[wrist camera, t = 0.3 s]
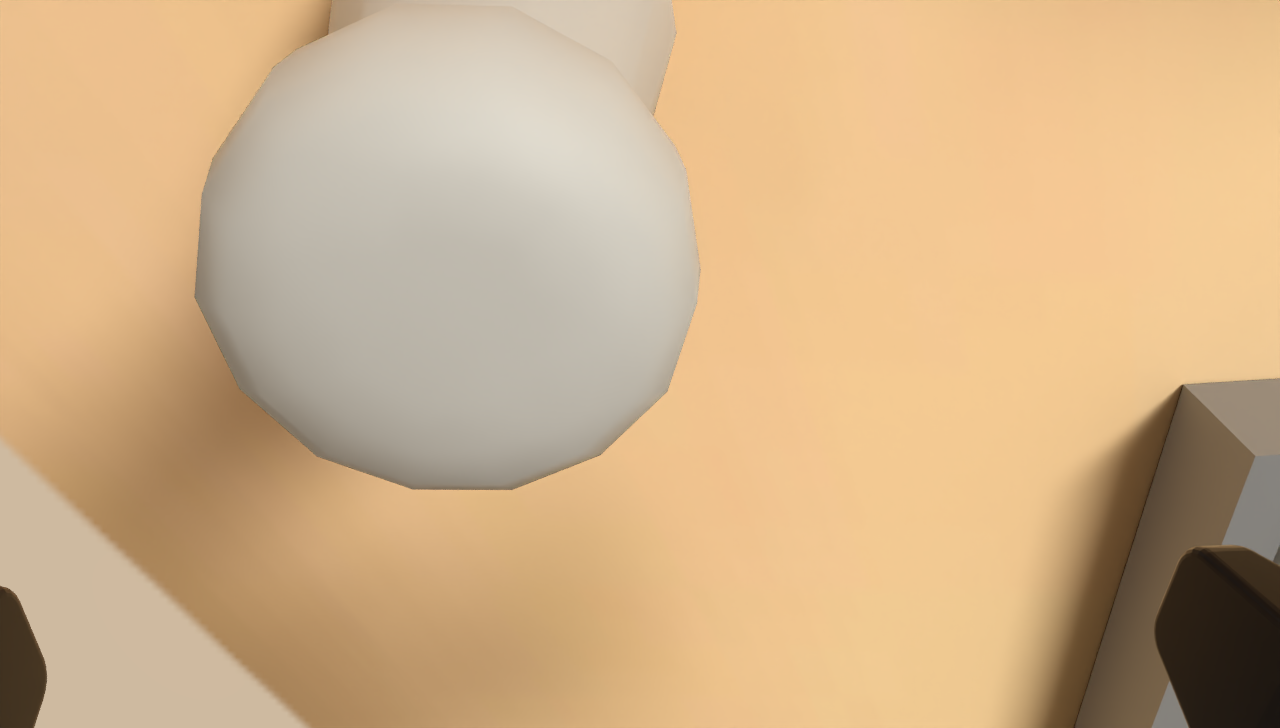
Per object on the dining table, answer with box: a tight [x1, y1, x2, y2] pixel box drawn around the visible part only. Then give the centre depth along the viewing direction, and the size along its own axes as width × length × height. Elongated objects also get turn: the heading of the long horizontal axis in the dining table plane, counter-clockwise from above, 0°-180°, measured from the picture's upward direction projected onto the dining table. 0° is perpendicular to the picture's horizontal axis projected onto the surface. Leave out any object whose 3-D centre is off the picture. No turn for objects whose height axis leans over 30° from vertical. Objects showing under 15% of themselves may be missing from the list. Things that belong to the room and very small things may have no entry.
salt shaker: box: [195, 0, 701, 490], centre depth 13 cm, size 6×6×13 cm
